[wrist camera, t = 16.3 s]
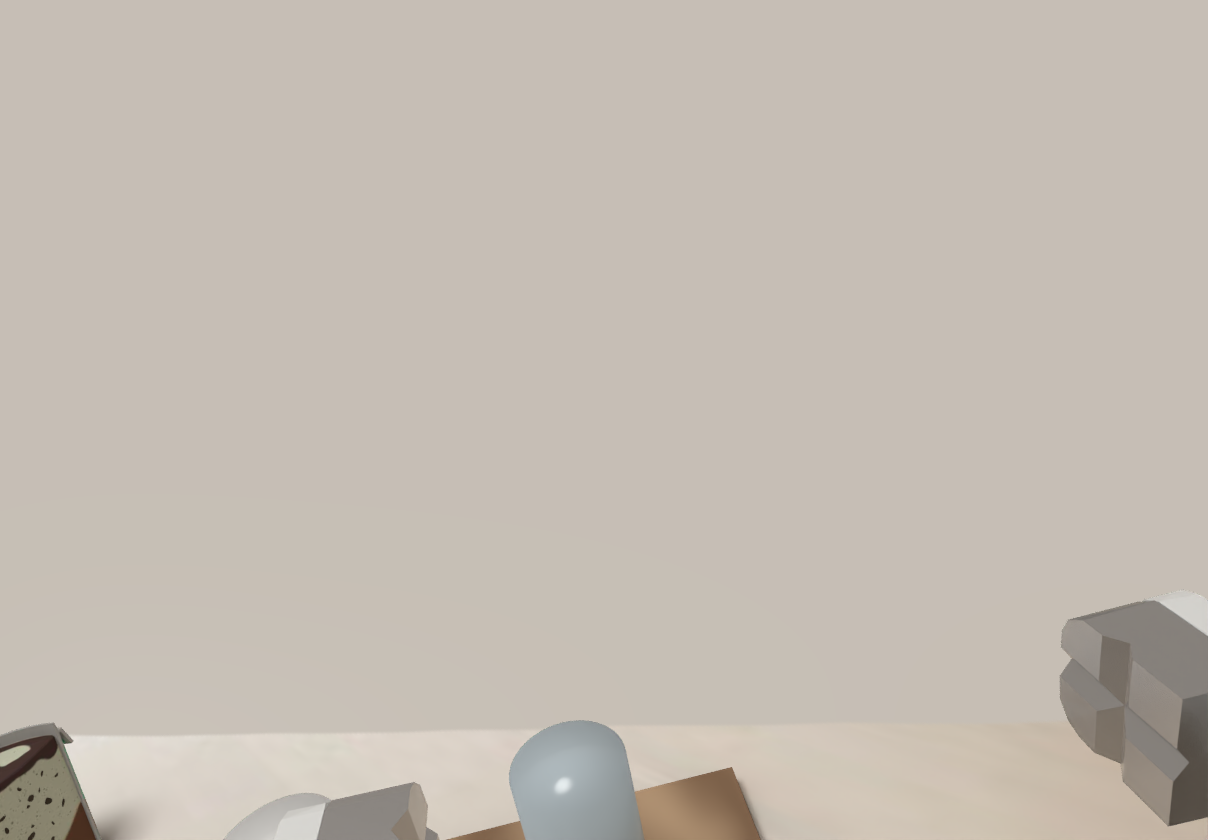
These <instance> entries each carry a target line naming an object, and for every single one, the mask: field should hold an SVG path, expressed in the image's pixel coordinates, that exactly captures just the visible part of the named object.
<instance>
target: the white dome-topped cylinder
mask: <svg viewBox="0 0 1208 840" xmlns="http://www.w3.org/2000/svg"><path fill="white" fill-rule="evenodd" d="M328 802H331V800H330V799H329V798H327V797H325V796H322V795H319V794H314V793H301V794H294V795H289V796H286V797H283V798H280V799H277V800H275V801H272V802H270V803H268V804H266V805H264V806H262V807H261V808H259V809H257V810H256V811H254V812H253V813H251V814H250V815H248V816H247V817H246V818H244V819H243V820H242V821H241V822H240V823H238V824H237V825H236V826H235V827H234V828H233V829H232V830H231V831H230V832H229V833H228V834H227V836H226V837H225V838H224V839H223V840H274V837H275V834H276V831H277V828H278V824H279V823H280V821H281V819H282V818H283V817H284V816H285V814H286V813H287V812H288V811H291V810H296V809H300V808H305V807H309V806H314V805H319V804H323V803H328Z"/></svg>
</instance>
